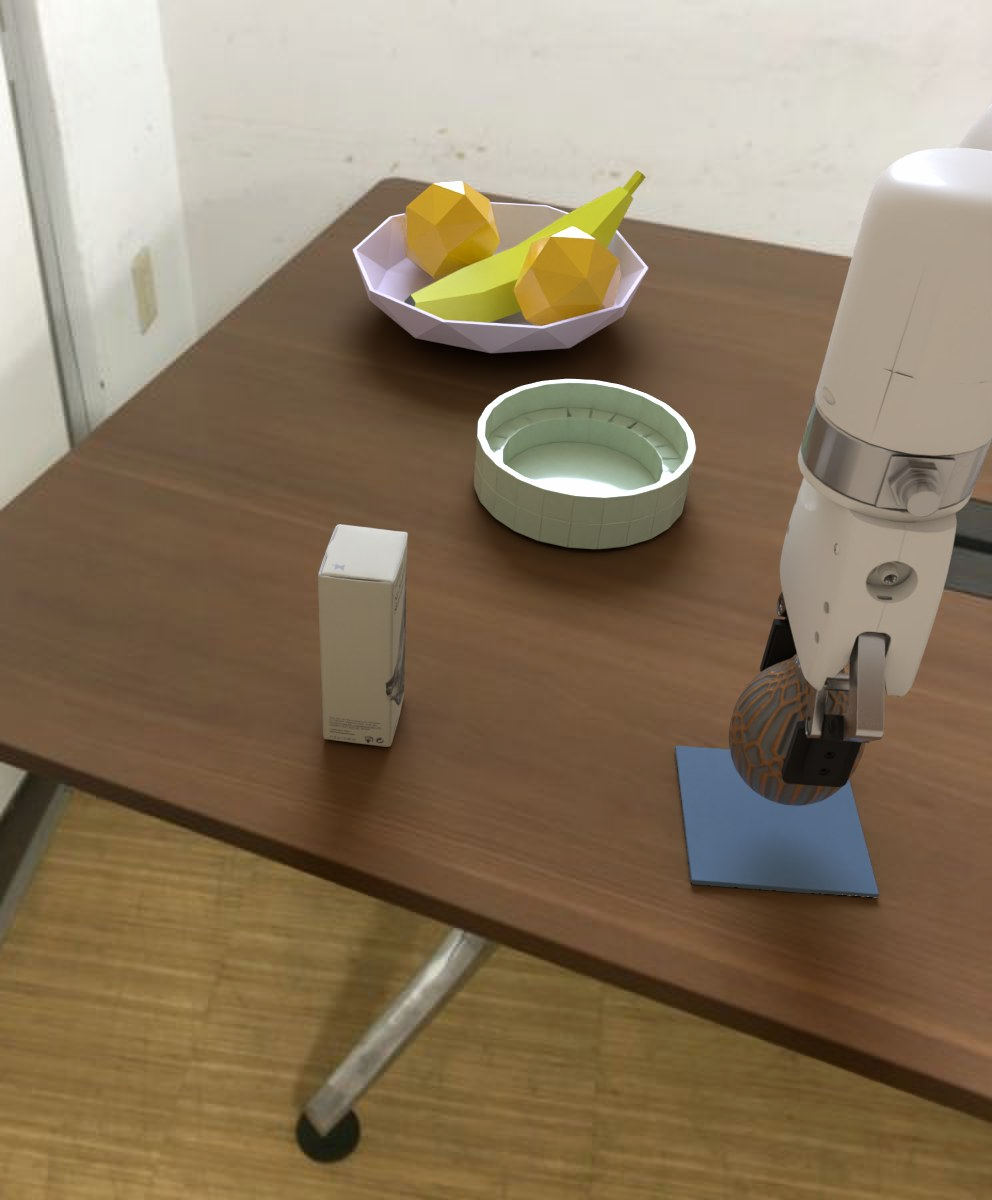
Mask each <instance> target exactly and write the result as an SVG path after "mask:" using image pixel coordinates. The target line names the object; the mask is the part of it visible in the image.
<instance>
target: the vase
mask: <svg viewBox="0 0 992 1200" xmlns="http://www.w3.org/2000/svg"><path fill="white" fill-rule="evenodd" d="M839 673H846V671H845V667H844V668H843V669H842V670H841V671H840V672H839ZM809 691H810V683H809V682H808V681H807V680H806V679H805V677H804V675H803V672H802V669H801V666H800V662H799V658H798V655H797V653H796V654H795V655H794V656H793V657H792V658H791V659H788V660H785V661H783V662H780V663H778V664H775V665H773V666H771V667H769V668H767V669H765V670H764V671H762V672H759V673H758V674H757V675H756V676H754V678H753V679H752V680H750V681H749V683H748V684H747V685H746V686H745V688H744V689H743V690H742V692H741V694H740V695H739V697H738V698H737V700H736V703H735V704H734V707H733V709H732V710H733V711H732V713H731V718H730V721H729V727H728V728H729V729H728V746H729V747H728V748H729V750H730V753H731V758H732V760H733V763H734V766H735V768H736V770H737V772H738V774H739V775H740V777H741V778H742V779H743V781H744V782H745V783H746V784H747V785H748V786H749V787H750V788H751V789H752V790H753V791H755V792H756V793H758V794H759V795H761V796H762V797H764V798H766V799H768V800H770V801H773V802H776V803H779V804H783V805H792V806H802V805H809V804H813V803H817V802H820V801H823V800H825V799H827V798H829V797H830V796H832V795H833V794H835V793H836V792H837V791H838V790H840V789H841V788H842V787H843V786H842V787H826V786H813V785H799V784H788V783H785V782H784V781H783V779H782V774H781V770H782V767H783V764H784V760H785V757H786V754H787V751H788V748H789V745H790V742H791V739H792V736H793V733H794V730H795V727H796V724H797V721H803V720H806V713H807V706H808V699H809ZM848 706H849V692H848V691H834V690H828V694H827V701H826V708H825V714H836V715H843V714H844V713H846V712H847V710H848ZM865 748H866V743H864V742H862V744H861V747H860V749H859V752H858V755H857V757H856V760H855V763H854V765H853V768H852V770H851V773H850V776H849V778H848V780H849V781H850V779H851V778H852V777H853V776H854V773H855V772H856V770H857V768H858V766H859V764H860V761H861V759H862V757H863V754H864V750H865Z"/></svg>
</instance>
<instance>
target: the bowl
mask: <svg viewBox="0 0 992 1200" xmlns="http://www.w3.org/2000/svg"><path fill="white" fill-rule="evenodd" d="M476 428H477V429H476V443H475V458H474V459H475V461H474V474H473V488H474V490H475V493H476V495H477V498H478V500H479V502H480V503H481V504H482V506H483V507H484V508H485V509H486V511H487V512H488V513H489V514H490V515H491V516H492V517H493V518H494V519H495V520H496V521H498V522H500V523H502V524H503V525H504V526H506V527H508V528H509V529H510V530H512V531H513V532H516V533H518V534H520V535H522V536H525V537H528V538H530V539H533V540H535V541H537V542H541V543H545V544H550V545H555V546H559V547H564V548H569V549H570V548H571V549H584V550H585V549H586V550H603V549H604V550H605V549H606V550H607V549H613V548H624V547H629V546H632V545H635V544H638V543H642V542H645V541H649V540H652V539H653V538H655V537H657V536H658V535H660V534H662V533H664V532H665V531H667V530H669V529H670V528H671V527H672V525H674V523H675V522H676V521H677V520H678V519H679V518H680V517H681V515H682V514H683V511H684V508H685V504H686V501H687V497H688V492H689V488H690V483H691V477H692V473H693V469H694V463H695V462H694V461H695V458H696V453H697V445H696V444H697V443H696V439H695V434H694V432H693V430H692V429H691V427H690V426H689V424H688V422H687V421H686V419H685V418H684V417H683V416H682V415H681V414H679V413H678V412H677V411H676V410H675V409H673V408H672V407H671V406H670V405H668V404H667V403H665V402H663V401H662V400H660V399H657V397H654V396H652V395H650V394H648V393H646V392H643V391H640V390H637V389H633V388H631V387H628V386H625V385H622V384H617V383H611V382H607V381H601V380H595V379H578V378H577V379H576V378H564V379H552V380H551V379H549V380H542V381H536V382H533V383H529V384H525V385H520V386H517V387H516V388H514V389H511V390H509V391H507V392H505V393H503V394H501V395H499V396H498V397H496V398H495V399H494V400H493V401H492V402H490V403H489V404H487V406H485V408H484V410H483V412H482V413H481V415H480V416H479V418H478V420H477V427H476Z"/></svg>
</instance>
